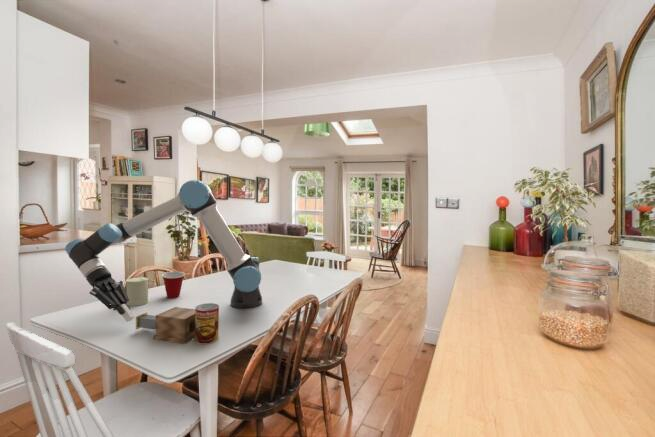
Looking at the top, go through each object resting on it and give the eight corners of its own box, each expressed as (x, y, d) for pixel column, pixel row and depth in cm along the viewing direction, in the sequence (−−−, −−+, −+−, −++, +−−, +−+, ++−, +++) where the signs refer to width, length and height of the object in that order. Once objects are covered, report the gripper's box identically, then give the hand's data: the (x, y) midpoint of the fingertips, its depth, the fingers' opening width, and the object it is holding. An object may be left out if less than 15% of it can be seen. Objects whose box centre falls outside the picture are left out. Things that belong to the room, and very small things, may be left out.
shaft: (135, 329, 118) (135, 316, 118) (146, 324, 123) (146, 312, 123) (183, 335, 114) (183, 322, 113) (192, 330, 118) (192, 318, 118)
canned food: (192, 344, 109) (193, 310, 109) (197, 335, 117) (197, 303, 117) (216, 343, 111) (217, 309, 111) (219, 334, 119) (220, 302, 118)
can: (138, 306, 147) (138, 281, 147) (121, 305, 149) (121, 279, 148) (152, 301, 156) (152, 277, 156) (136, 299, 158) (136, 275, 158)
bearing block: (153, 339, 113) (153, 315, 113) (174, 327, 124) (175, 306, 123) (184, 343, 110) (184, 319, 110) (204, 331, 121) (204, 309, 120)
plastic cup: (160, 300, 157) (160, 276, 157) (162, 294, 167) (162, 272, 167) (184, 298, 162) (184, 275, 161) (184, 293, 171) (185, 271, 171)
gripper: (105, 275, 131) (139, 319, 128) (73, 282, 119) (109, 331, 116) (116, 263, 130) (150, 307, 127) (85, 269, 117) (121, 319, 114)
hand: (130, 319), depth 121 cm, fingers closed
